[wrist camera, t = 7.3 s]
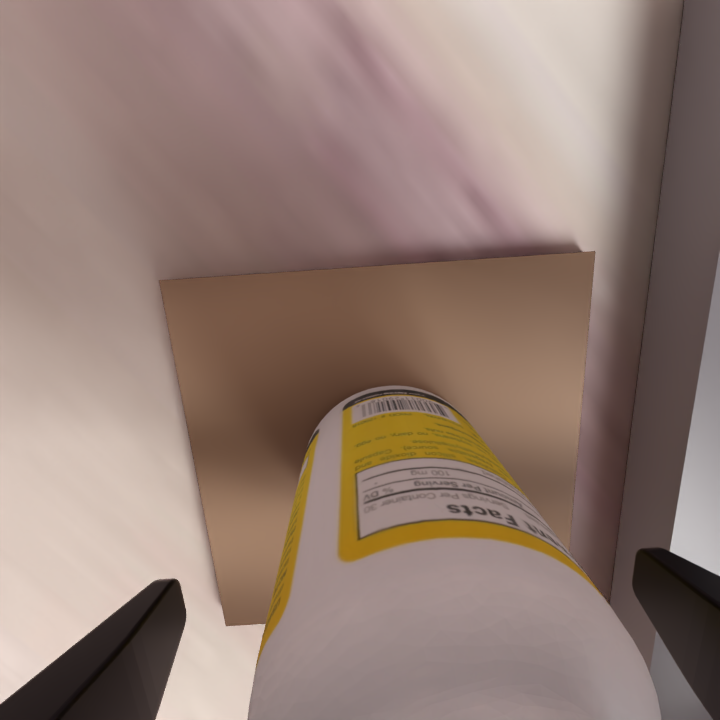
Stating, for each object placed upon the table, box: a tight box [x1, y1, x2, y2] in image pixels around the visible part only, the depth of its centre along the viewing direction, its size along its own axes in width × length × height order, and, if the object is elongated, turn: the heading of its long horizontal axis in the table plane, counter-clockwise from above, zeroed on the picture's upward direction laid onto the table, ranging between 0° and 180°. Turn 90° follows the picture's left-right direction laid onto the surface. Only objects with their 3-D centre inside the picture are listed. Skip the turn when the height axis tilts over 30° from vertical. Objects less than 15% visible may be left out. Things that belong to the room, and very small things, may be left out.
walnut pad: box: [159, 251, 595, 626], centre depth 12 cm, size 12×12×1 cm
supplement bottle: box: [248, 386, 661, 720], centre depth 7 cm, size 5×5×10 cm
